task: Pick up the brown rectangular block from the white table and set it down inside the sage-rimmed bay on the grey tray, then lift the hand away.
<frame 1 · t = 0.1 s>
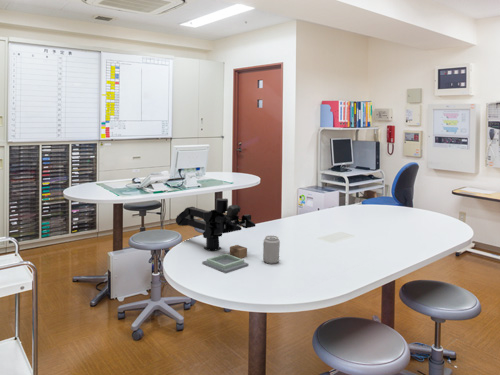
hand: (248, 227, 192), 17 cm above the table, tool horizontal, fingers open, 9 cm apart
grey tray: (225, 264, 189), on the table
can: (270, 261, 195), on the table
brown rectangular block: (238, 256, 202), on the table
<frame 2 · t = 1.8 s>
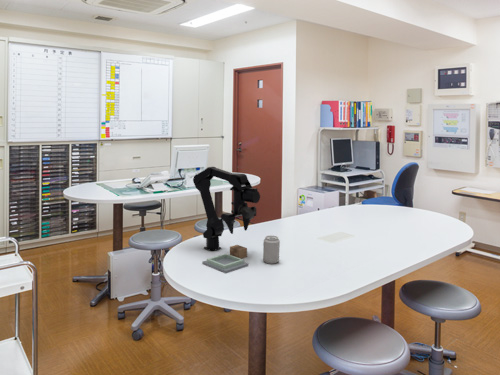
hand: (238, 232, 200), 12 cm above the table, tool pointing down, fingers open, 9 cm apart
nothing on the table moved.
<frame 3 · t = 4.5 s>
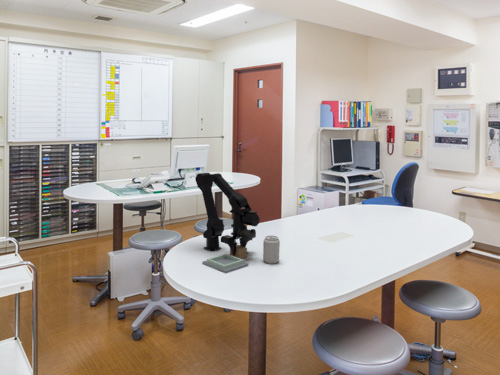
hand: (238, 253, 202), 1 cm above the table, tool pointing down, fingers closed on brown rectangular block, 5 cm apart
brown rectangular block: (238, 255, 202), on the table, touching gripper
everything else where it was.
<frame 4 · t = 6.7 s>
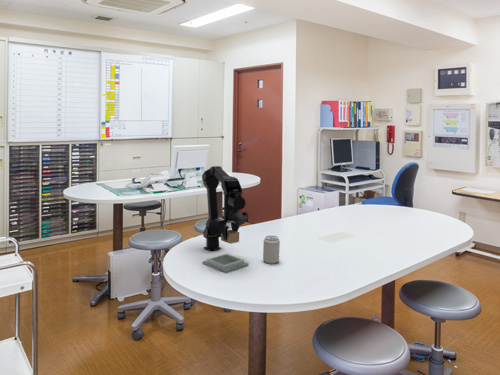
hand: (229, 238, 190), 11 cm above the table, tool pointing down, fingers closed on brown rectangular block, 5 cm apart
brown rectangular block: (230, 241, 191), point 10 cm above the table, touching gripper
everything else where it was.
when the fingers open (4 cm above the table, at t = 9.1 s): brown rectangular block drops 2 cm, resting on grey tray.
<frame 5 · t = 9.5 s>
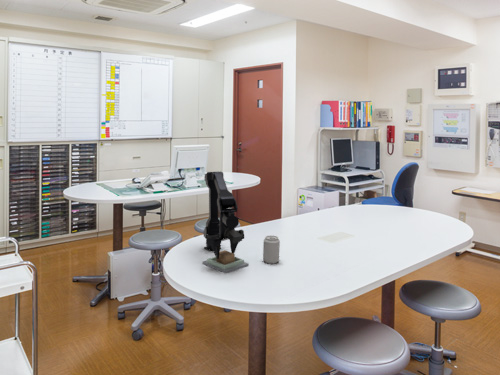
hand: (225, 256, 189), 4 cm above the table, tool pointing down, fingers open, 9 cm apart
brown rectangular block: (225, 262, 189), point 1 cm above the table, touching grey tray
everything else where it was.
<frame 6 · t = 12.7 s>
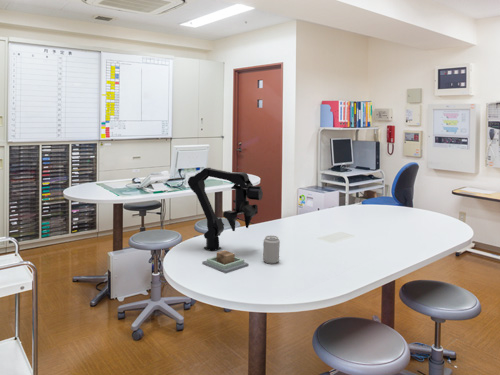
hand: (240, 229, 205), 12 cm above the table, tool pointing down, fingers open, 9 cm apart
nothing on the table moved.
at the end: brown rectangular block 0.0 cm off-centre on the grey tray, point 1.0 cm above the grey tray's base; brown rectangular block tilted 0°; the gripper is holding nothing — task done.
